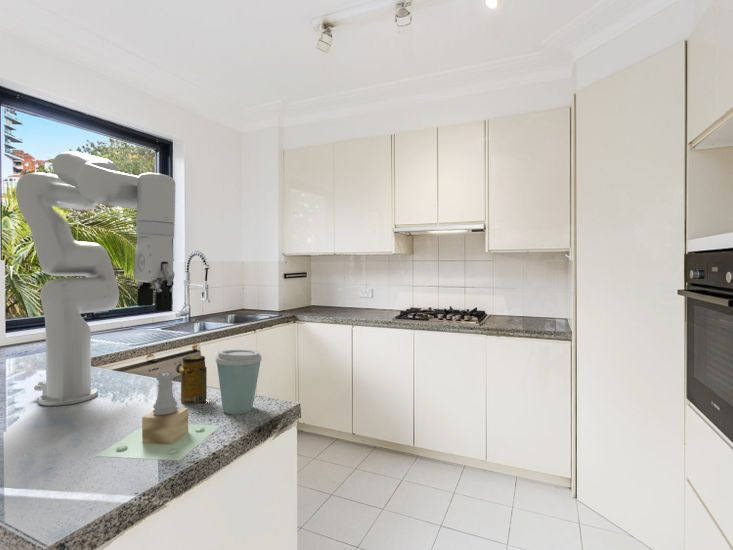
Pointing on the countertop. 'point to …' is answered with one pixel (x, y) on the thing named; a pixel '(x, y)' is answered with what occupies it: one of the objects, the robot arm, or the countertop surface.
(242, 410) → the disposable coffee cup
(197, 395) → the condiment
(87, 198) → the robot arm
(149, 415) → the oak brick
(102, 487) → the countertop surface
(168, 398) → the rook chess piece
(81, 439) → the countertop surface
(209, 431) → the build plate
